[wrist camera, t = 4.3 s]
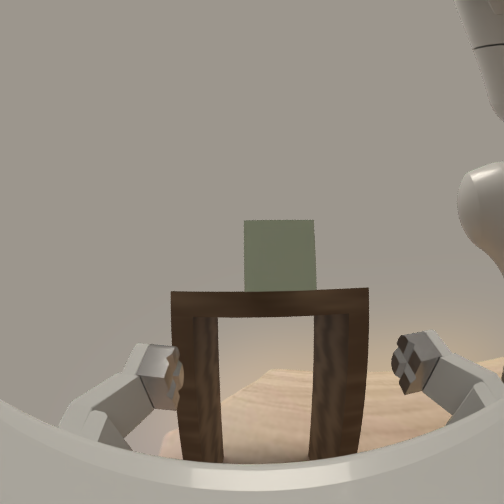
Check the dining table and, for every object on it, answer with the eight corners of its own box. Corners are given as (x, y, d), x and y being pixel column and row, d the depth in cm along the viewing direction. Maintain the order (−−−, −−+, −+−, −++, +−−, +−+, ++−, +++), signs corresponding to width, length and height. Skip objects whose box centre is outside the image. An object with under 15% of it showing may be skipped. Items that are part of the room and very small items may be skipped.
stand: (211, 455, 31) (203, 291, 35) (320, 452, 31) (326, 289, 35) (193, 515, 18) (170, 291, 21) (343, 510, 17) (368, 287, 21)
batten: (251, 291, 33) (251, 262, 33) (280, 291, 33) (280, 262, 33) (244, 291, 13) (243, 220, 14) (316, 289, 13) (313, 220, 14)
